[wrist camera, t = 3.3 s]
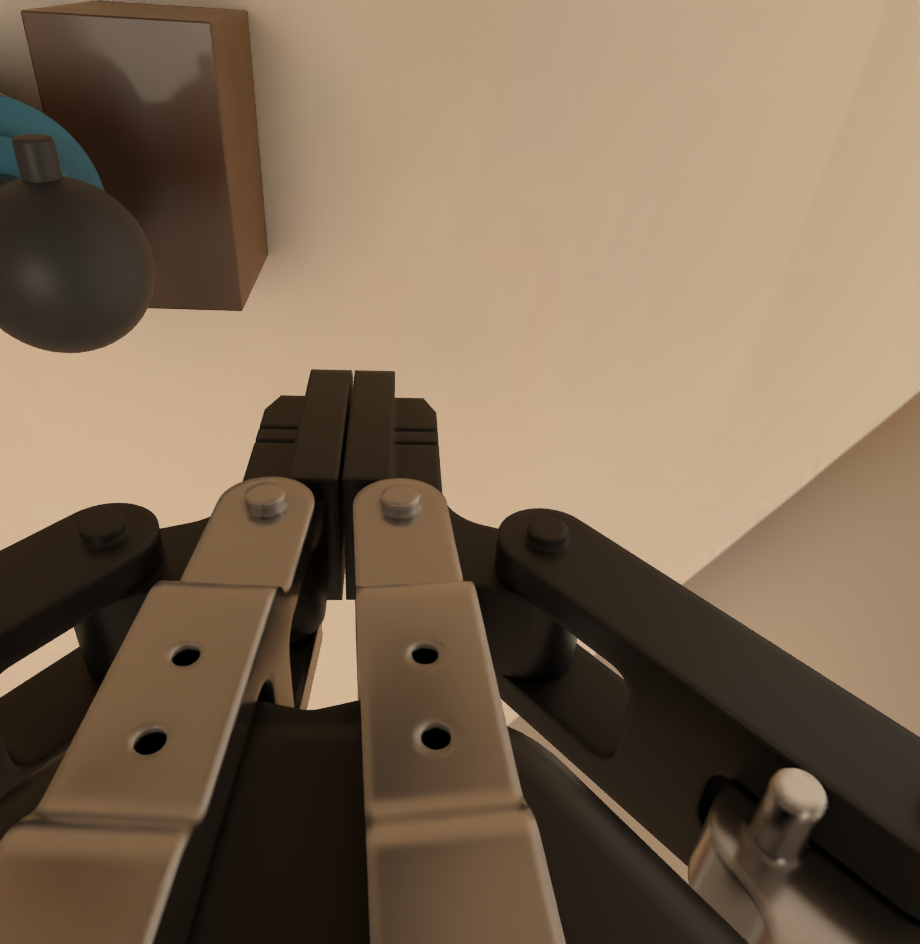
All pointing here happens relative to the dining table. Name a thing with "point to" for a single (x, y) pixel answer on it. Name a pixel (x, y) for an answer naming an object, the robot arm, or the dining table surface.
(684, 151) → the dining table surface
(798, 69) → the dining table surface
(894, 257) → the dining table surface
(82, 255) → the striped banded cylinder
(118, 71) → the walnut block
